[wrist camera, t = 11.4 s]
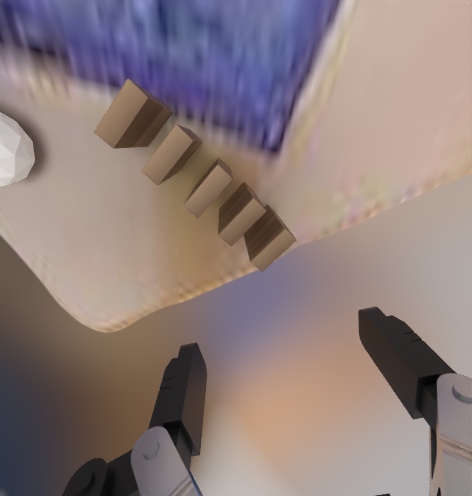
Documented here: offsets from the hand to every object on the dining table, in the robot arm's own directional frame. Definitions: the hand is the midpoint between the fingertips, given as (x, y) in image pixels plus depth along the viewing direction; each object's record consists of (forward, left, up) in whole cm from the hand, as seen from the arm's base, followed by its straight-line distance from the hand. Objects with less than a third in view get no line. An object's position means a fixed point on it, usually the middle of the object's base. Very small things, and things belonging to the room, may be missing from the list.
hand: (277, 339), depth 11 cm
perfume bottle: (-27, -11, -24) cm, 38 cm away
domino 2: (-11, +1, -23) cm, 26 cm away
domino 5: (+3, +1, -23) cm, 23 cm away
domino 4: (-2, +1, -23) cm, 23 cm away
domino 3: (-6, +1, -23) cm, 24 cm away
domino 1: (-15, +1, -23) cm, 28 cm away
